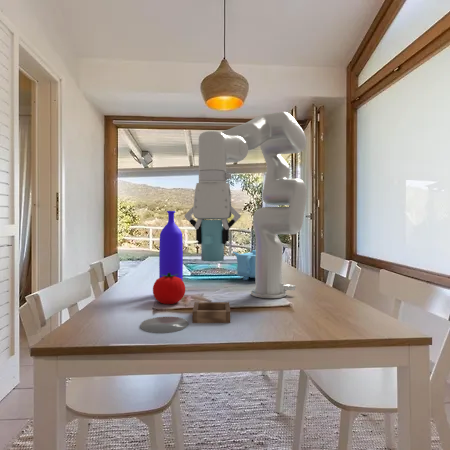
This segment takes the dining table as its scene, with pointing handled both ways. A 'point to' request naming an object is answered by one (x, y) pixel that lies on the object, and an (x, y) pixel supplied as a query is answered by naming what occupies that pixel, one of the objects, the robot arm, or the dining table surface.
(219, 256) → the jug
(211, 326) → the dining table surface
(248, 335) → the dining table surface
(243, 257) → the light blue cushion
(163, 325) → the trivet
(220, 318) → the cradle
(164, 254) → the bottle
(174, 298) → the tomato
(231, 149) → the robot arm
